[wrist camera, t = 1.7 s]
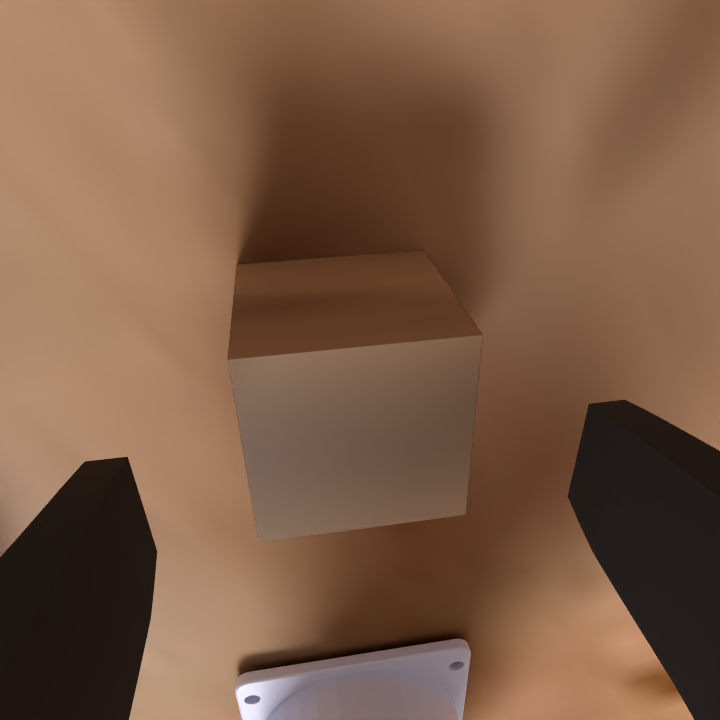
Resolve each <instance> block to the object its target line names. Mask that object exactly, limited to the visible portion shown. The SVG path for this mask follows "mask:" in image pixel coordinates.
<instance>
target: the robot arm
mask: <svg viewBox="0 0 720 720" xmlns="http://www.w3.org/2000/svg"><path fill="white" fill-rule="evenodd" d="M568 498H569V500H570V502H571V505H572V507H573V509H574V512H575V514H576V516H577V519H578V521H579V523H580V526H581V528H582V530H583V532H584V534H585V536H586V538H587V541H588V543H589V545H590V547H591V549H592V551H593V553H594V555H595V557H596V558H597V560H598V562H599V563H600V565H601V567H602V568H603V570H604V572H605V573H606V575H607V576H608V578H609V580H610V581H611V583H612V585H613V586H614V588H615V590H616V591H617V593H618V595H619V596H620V598H621V599H622V601H623V603H624V604H625V606H626V607H627V609H628V611H629V612H630V614H631V616H632V617H633V619H634V620H635V622H636V624H637V625H638V627H639V628H640V630H641V632H642V633H643V635H644V636H645V638H646V640H647V641H648V643H649V644H650V646H651V648H652V649H653V651H654V653H655V654H656V656H657V657H658V659H659V661H660V662H661V664H662V665H663V667H664V669H665V670H666V672H667V673H668V675H669V677H670V678H671V680H672V681H673V683H674V685H675V686H676V688H677V690H678V692H679V693H680V695H681V697H682V699H683V700H684V702H685V704H686V706H687V707H688V709H689V711H690V713H691V714H692V716H693V718H694V720H720V451H719V450H717V449H715V448H713V447H711V446H710V445H708V444H706V443H704V442H703V441H701V440H699V439H697V438H695V437H694V436H692V435H690V434H688V433H687V432H685V431H683V430H681V429H679V428H678V427H676V426H674V425H672V424H670V423H669V422H667V421H665V420H663V419H661V418H659V417H658V416H656V415H654V414H652V413H650V412H648V411H646V410H644V409H642V408H640V407H638V406H636V405H634V404H632V403H630V402H628V401H626V400H618V401H610V402H601V403H592V404H589V406H588V410H587V415H586V419H585V423H584V428H583V432H582V437H581V441H580V445H579V450H578V454H577V458H576V463H575V467H574V472H573V476H572V480H571V485H570V489H569V494H568ZM156 558H157V549H156V546H155V543H154V540H153V537H152V533H151V530H150V527H149V524H148V521H147V517H146V514H145V511H144V508H143V505H142V501H141V498H140V495H139V492H138V489H137V485H136V482H135V479H134V476H133V473H132V469H131V466H130V463H129V460H128V457H121V458H113V459H104V460H95V461H87V462H84V463H83V464H82V465H81V466H80V467H79V469H78V470H77V471H76V472H75V473H74V474H73V475H72V476H71V477H70V479H69V480H68V481H67V482H66V483H65V484H64V485H63V486H62V488H61V489H60V490H59V491H58V492H57V493H56V494H55V496H54V497H53V498H52V499H51V500H50V501H49V503H48V504H47V505H46V506H45V507H44V508H43V509H42V511H41V512H40V513H39V514H38V515H37V516H36V518H35V519H34V520H33V521H32V522H31V523H30V524H29V526H28V527H27V528H26V529H25V530H24V531H23V532H22V534H21V535H20V536H19V537H18V538H17V539H16V540H15V542H14V543H13V544H12V545H11V546H10V547H9V548H8V549H7V550H6V551H5V553H4V554H3V555H2V556H1V557H0V720H129V716H130V712H131V707H132V703H133V698H134V694H135V689H136V685H137V680H138V676H139V671H140V666H141V662H142V657H143V652H144V648H145V643H146V638H147V633H148V629H149V624H150V619H151V611H152V602H153V592H154V582H155V570H156ZM470 657H471V652H470V649H469V646H468V643H467V642H466V641H465V640H462V639H451V640H445V641H438V642H432V643H426V644H420V645H413V646H407V647H401V648H395V649H388V650H382V651H376V652H370V653H363V654H357V655H351V656H345V657H338V658H332V659H326V660H320V661H313V662H307V663H301V664H295V665H288V666H282V667H276V668H270V669H263V670H257V671H251V672H246V673H243V674H242V675H240V676H239V677H238V678H237V679H236V683H235V694H236V698H237V702H238V706H239V710H240V714H241V718H242V720H463V712H464V704H465V696H466V689H467V681H468V673H469V665H470Z"/></svg>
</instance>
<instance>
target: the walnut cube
mask: <svg viewBox="0 0 720 720" xmlns="http://www.w3.org/2000/svg"><path fill="white" fill-rule="evenodd" d="M482 339H483V334H482V333H481V331H480V330H479V329H478V327H477V326H476V324H475V323H474V322H473V320H472V319H471V317H470V316H469V314H468V313H467V312H466V310H465V309H464V307H463V306H462V304H461V303H460V302H459V300H458V299H457V297H456V296H455V294H454V293H453V292H452V290H451V289H450V287H449V286H448V284H447V283H446V282H445V280H444V279H443V277H442V276H441V275H440V273H439V272H438V270H437V269H436V267H435V266H434V265H433V263H432V262H431V260H430V259H429V257H428V256H427V255H426V253H425V252H424V250H416V251H403V252H390V253H378V254H365V255H352V256H340V257H327V258H314V259H302V260H289V261H277V262H264V263H251V264H239V265H236V275H235V286H234V297H233V307H232V318H231V329H230V339H229V350H228V365H229V371H230V377H231V383H232V389H233V395H234V401H235V406H236V412H237V418H238V424H239V430H240V436H241V442H242V447H243V453H244V459H245V465H246V471H247V477H248V483H249V488H250V494H251V500H252V506H253V512H254V518H255V524H256V529H257V535H258V541H259V543H260V542H267V541H274V540H282V539H289V538H297V537H304V536H312V535H319V534H327V533H334V532H341V531H349V530H356V529H364V528H371V527H379V526H386V525H394V524H401V523H408V522H416V521H423V520H431V519H438V518H446V517H453V516H461V515H465V514H466V504H467V494H468V483H469V473H470V463H471V453H472V442H473V432H474V422H475V411H476V401H477V391H478V381H479V370H480V360H481V350H482Z"/></svg>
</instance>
